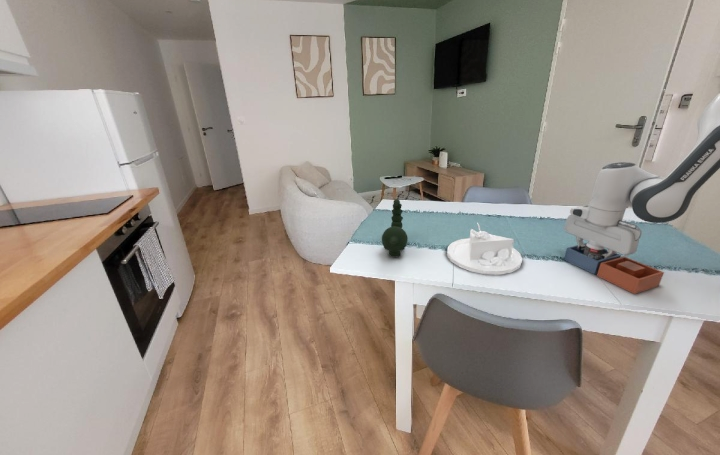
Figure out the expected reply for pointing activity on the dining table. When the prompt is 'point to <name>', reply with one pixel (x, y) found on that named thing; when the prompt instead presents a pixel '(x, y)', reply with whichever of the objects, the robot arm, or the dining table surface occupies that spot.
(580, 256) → the blue bin
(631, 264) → the block
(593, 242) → the pill bottle
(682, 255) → the dining table surface
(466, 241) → the dish
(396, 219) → the green topiary ornament
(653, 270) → the terracotta bin
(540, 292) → the dining table surface
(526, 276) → the dining table surface
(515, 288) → the dining table surface
